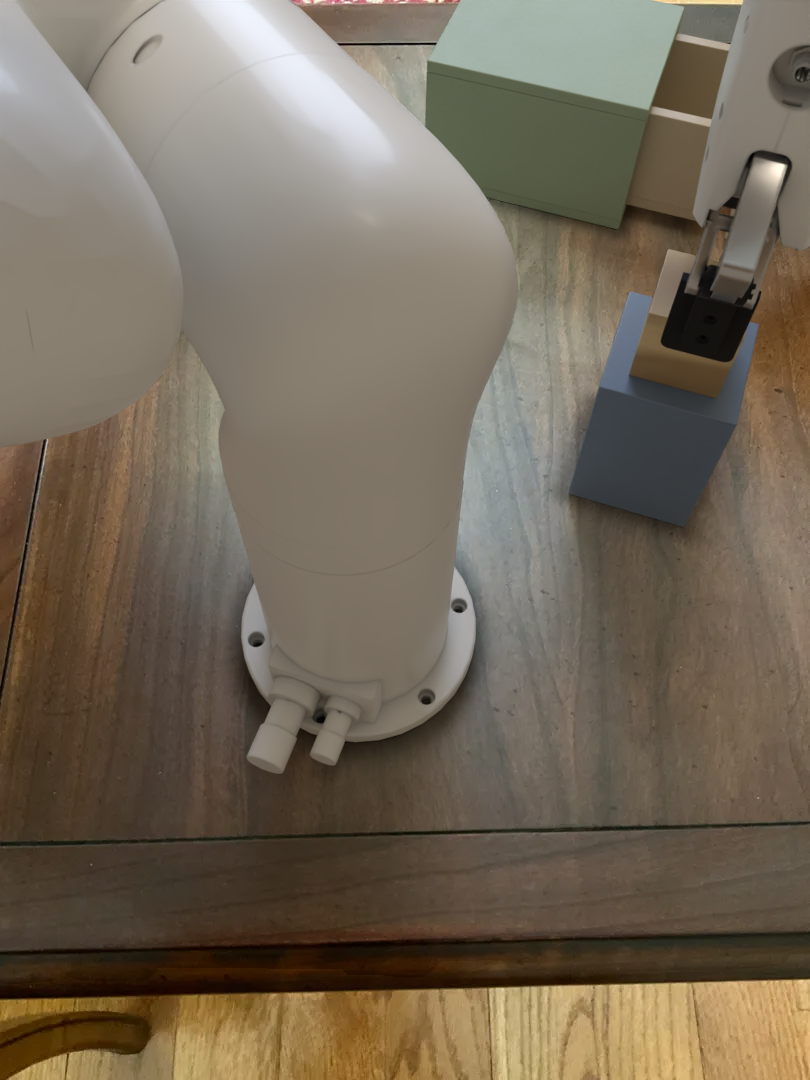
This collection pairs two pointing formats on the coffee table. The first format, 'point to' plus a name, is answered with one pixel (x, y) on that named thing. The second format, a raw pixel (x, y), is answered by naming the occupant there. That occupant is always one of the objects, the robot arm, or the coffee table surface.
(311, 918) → the coffee table surface
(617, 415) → the stand
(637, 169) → the drawer
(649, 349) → the block
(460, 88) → the cabinet
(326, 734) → the robot arm
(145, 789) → the coffee table surface
